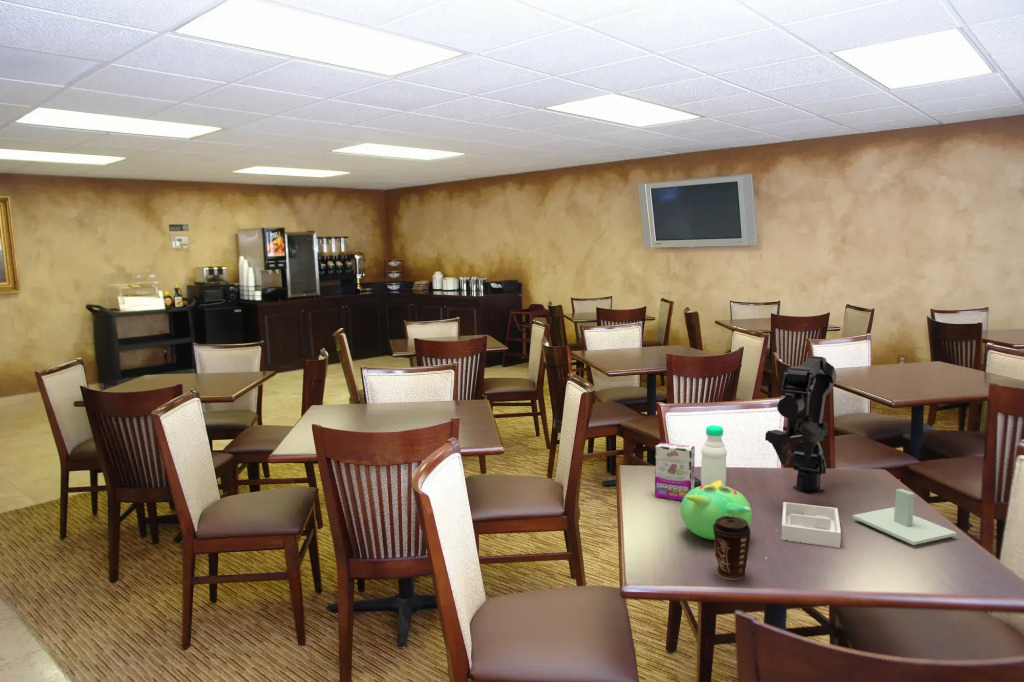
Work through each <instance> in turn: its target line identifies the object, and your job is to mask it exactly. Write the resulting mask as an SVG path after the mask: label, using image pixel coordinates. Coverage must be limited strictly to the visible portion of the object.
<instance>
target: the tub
mask: <svg viewBox="0 0 1024 682" xmlns="http://www.w3.org/2000/svg"><path fill="white" fill-rule="evenodd" d="M782 502H783V503H782V517H781V518H782V519H781V538H780V539H781V541H785V540H788V541H787V542H793V541H794V542H793V543H800V542H801V543H802V544H808V545H815V546H823V547H832V548H837V549H840V548H841V542H842V540H841V538H842V531H841V525H840V524H841V523H840V517H839V516H840V515H839V511H838V507H831V506H821V505H813V504H805V503H798V502H789V501H788V502H787V501H782Z"/></svg>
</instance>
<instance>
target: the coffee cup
mask: <svg viewBox="0 0 1024 682" xmlns="http://www.w3.org/2000/svg"><path fill="white" fill-rule="evenodd" d="M713 531H714V536H715V540H714V556H715V558H716V560H717V567H716V568H717V569H716V574H718V575H717V576H718V577H720V576H721V577H720V578H722V577H723V578H722V579H724V578H725V579H724V580H727V579H729V580H728V581H737V579H738V580H741V579H744V577H745V576H746V567H747V563H748V556H749V548H750V546H749V545H750V538H751V527H750V525H749V526H748V523H747V521H745V520H744V519H742V518H739V517H733V516H732V517H729V516H722V517H721V518H718V519H717V520H716V522H715V523H714V525H713Z"/></svg>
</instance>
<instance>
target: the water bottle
mask: <svg viewBox="0 0 1024 682" xmlns="http://www.w3.org/2000/svg"><path fill="white" fill-rule="evenodd" d="M705 433H706V434H705V435H706V436H707V437H706V440H705V442H704V444H703V445H702V447H701V451H700V452H701V463H700V481H701V486H702V485H709V484H712V483H713V482H715V481H718V480H721V481H722V485H723V486H726V481H727V455H728V451H727V448H726V446H725V444H724V442H723V440H722V437H723V436H724V428H723V427H722V426H720V425H713V424H712V425H708V426H706V428H705Z"/></svg>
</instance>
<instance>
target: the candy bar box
mask: <svg viewBox="0 0 1024 682" xmlns="http://www.w3.org/2000/svg"><path fill="white" fill-rule="evenodd" d="M695 447H696V446H695V445H687V444H677V443H668V442H659V443H658V444H657V445H655V447H654V451H655V452H654V453H655V454H654V455H655V457H654V460H655V462H654V463H655V464H654V466H655V468H654V497H655V498H658V499H666V500H671V501H678V502H682V501H683V499H684V497H685V496H686V494H687V493H688V492H689V491H691V490H692V489H694V477H695V463H696V462H695V459H696V458H695V457H696V455H695V451H696V448H695Z"/></svg>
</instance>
